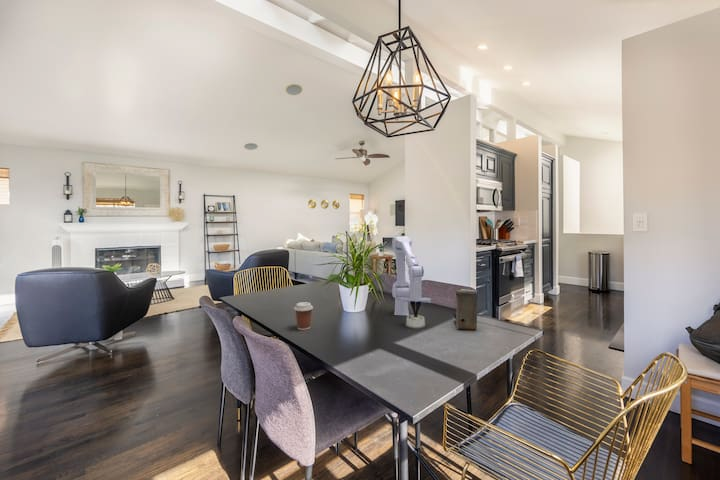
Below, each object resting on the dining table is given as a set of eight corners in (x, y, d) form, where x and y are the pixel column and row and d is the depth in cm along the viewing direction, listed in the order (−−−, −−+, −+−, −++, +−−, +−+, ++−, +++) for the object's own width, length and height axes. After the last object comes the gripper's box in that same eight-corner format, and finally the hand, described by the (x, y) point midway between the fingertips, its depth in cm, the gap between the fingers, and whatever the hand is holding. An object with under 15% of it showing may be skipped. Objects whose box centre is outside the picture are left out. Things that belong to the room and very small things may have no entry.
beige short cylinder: (410, 322, 169) (410, 314, 169) (420, 323, 168) (420, 314, 168) (410, 325, 164) (410, 317, 164) (421, 326, 163) (421, 317, 163)
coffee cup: (308, 323, 169) (308, 300, 169) (316, 328, 162) (315, 304, 161) (291, 326, 165) (291, 303, 164) (298, 332, 157) (298, 307, 156)
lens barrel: (405, 322, 172) (405, 314, 172) (424, 322, 170) (424, 314, 170) (405, 328, 162) (405, 320, 162) (426, 329, 161) (426, 320, 160)
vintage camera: (470, 322, 173) (469, 284, 173) (477, 330, 158) (477, 289, 157) (451, 321, 174) (451, 284, 174) (457, 330, 159) (456, 289, 158)
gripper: (401, 290, 162) (401, 318, 163) (431, 291, 160) (430, 319, 161) (401, 287, 169) (401, 314, 170) (429, 288, 167) (429, 314, 168)
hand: (415, 316), depth 166 cm, fingers closed, pressing on beige short cylinder
